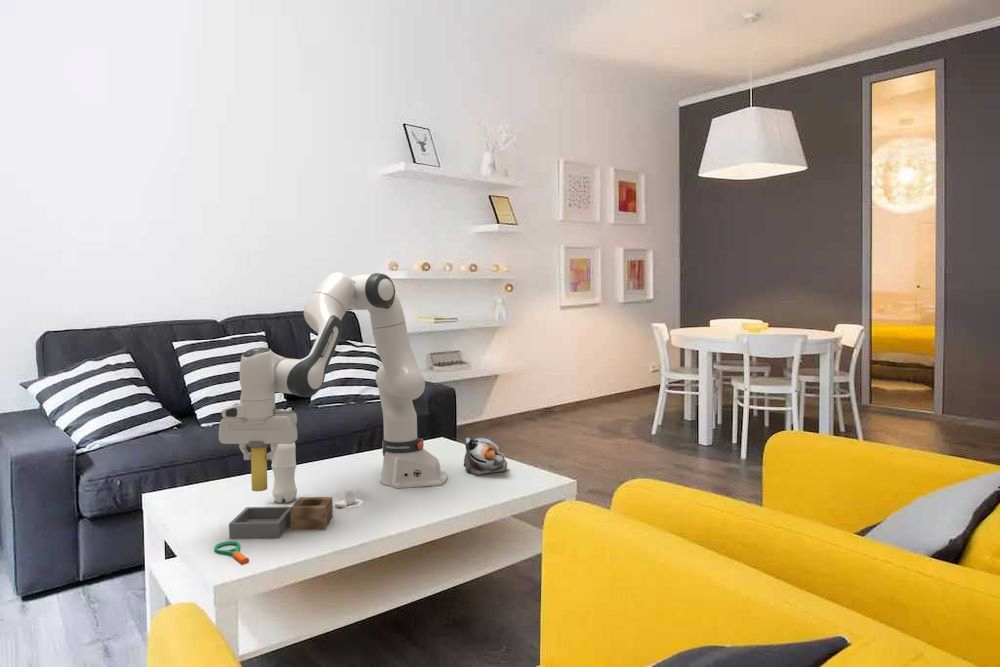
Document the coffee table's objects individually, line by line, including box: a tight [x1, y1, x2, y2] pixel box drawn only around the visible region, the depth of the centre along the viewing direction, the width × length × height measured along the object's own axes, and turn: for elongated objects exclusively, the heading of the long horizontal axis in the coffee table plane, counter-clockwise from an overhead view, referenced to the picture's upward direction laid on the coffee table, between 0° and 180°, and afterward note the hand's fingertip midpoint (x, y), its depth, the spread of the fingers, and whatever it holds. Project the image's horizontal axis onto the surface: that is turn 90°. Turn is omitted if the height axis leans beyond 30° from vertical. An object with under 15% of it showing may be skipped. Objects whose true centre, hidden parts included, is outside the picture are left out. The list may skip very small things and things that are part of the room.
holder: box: [290, 496, 334, 531], centre depth 191 cm, size 9×9×6 cm
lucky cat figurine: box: [463, 437, 508, 476], centre depth 238 cm, size 17×14×16 cm
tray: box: [228, 506, 292, 540], centre depth 187 cm, size 13×13×4 cm
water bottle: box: [270, 441, 298, 504], centre depth 210 cm, size 7×7×25 cm
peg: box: [247, 441, 270, 492], centre depth 185 cm, size 5×5×14 cm
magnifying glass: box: [213, 540, 250, 565], centre depth 170 cm, size 15×6×2 cm, turn 41°
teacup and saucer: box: [333, 489, 364, 509], centre depth 207 cm, size 9×8×4 cm
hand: (259, 459), depth 185 cm, fingers closed on peg, 5 cm apart
